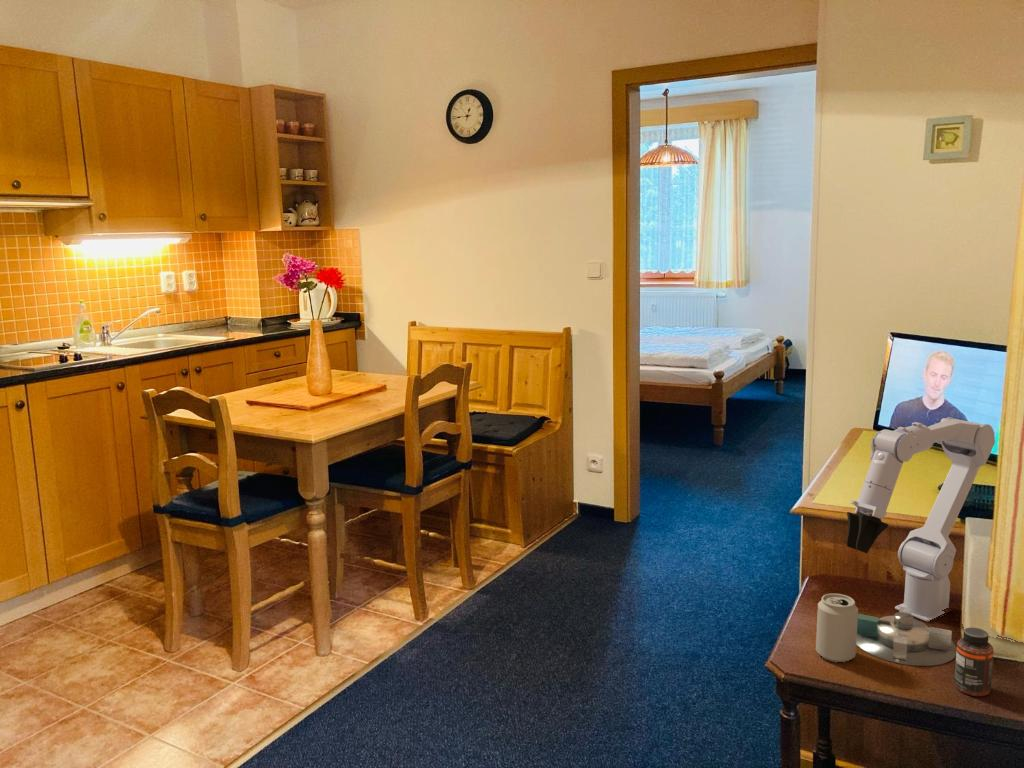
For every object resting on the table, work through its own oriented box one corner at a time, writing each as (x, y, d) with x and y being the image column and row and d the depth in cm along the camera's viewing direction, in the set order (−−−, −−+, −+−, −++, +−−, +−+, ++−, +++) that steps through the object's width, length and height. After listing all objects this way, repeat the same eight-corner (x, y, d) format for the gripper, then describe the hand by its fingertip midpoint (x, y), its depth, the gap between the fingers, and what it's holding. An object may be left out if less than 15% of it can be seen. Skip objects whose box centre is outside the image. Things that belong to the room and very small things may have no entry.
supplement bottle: (984, 682, 158) (989, 626, 156) (995, 699, 153) (1000, 641, 150) (949, 679, 160) (954, 623, 158) (958, 696, 154) (963, 638, 152)
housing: (888, 611, 188) (889, 587, 187) (977, 647, 171) (979, 622, 170) (829, 635, 177) (830, 610, 176) (918, 676, 161) (920, 649, 160)
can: (858, 666, 165) (862, 608, 163) (818, 663, 166) (821, 605, 164) (851, 647, 172) (854, 592, 170) (812, 644, 174) (815, 589, 171)
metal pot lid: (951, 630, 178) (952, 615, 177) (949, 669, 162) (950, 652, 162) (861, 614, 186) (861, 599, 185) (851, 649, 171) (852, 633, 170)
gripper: (850, 479, 181) (828, 539, 180) (868, 480, 167) (845, 545, 166) (883, 491, 180) (861, 551, 179) (904, 493, 166) (881, 558, 165)
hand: (856, 549), depth 173 cm, fingers open, 7 cm apart
